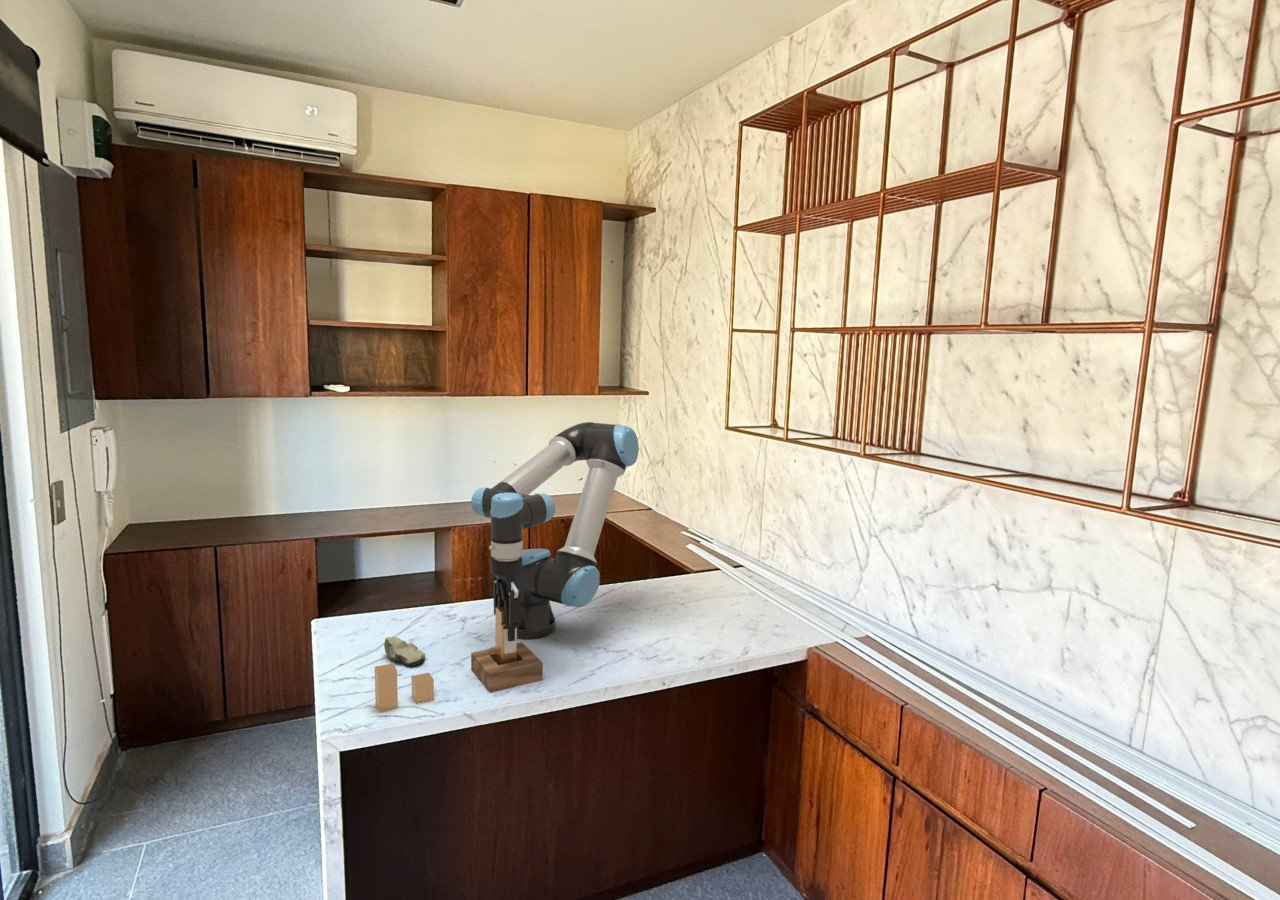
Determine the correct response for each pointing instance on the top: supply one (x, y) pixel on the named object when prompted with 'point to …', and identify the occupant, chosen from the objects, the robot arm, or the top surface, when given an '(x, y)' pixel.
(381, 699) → the medium pin
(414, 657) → the rock
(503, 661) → the long pin
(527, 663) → the hole block
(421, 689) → the short pin
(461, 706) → the top surface
